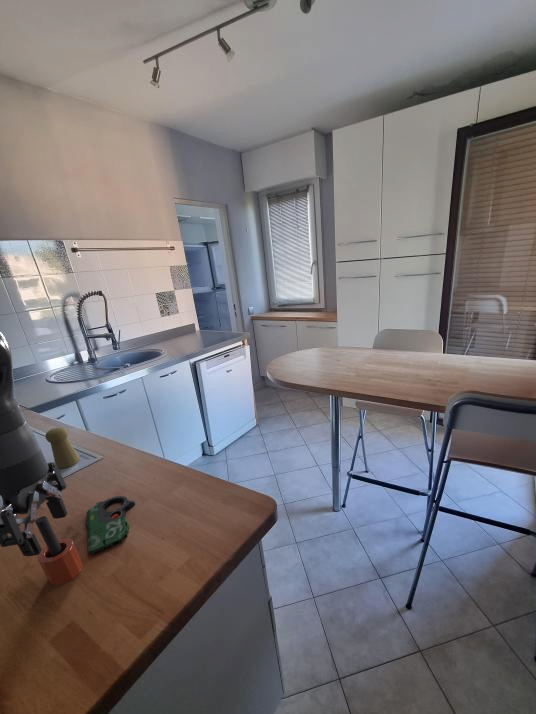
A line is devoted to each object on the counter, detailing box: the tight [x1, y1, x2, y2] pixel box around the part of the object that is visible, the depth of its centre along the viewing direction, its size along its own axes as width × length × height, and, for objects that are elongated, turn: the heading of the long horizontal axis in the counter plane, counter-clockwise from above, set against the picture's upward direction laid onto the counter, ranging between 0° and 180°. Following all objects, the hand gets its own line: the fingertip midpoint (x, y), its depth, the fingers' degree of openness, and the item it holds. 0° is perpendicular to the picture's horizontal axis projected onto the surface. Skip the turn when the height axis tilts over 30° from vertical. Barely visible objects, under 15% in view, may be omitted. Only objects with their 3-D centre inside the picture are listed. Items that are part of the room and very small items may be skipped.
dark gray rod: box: [34, 515, 63, 557], centre depth 59 cm, size 2×2×12 cm
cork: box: [44, 426, 81, 470], centre depth 95 cm, size 6×6×11 cm
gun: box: [85, 495, 136, 556], centre depth 72 cm, size 16×2×10 cm
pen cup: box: [37, 537, 83, 586], centre depth 60 cm, size 5×5×6 cm
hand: (48, 534), depth 58 cm, fingers open, 8 cm apart
